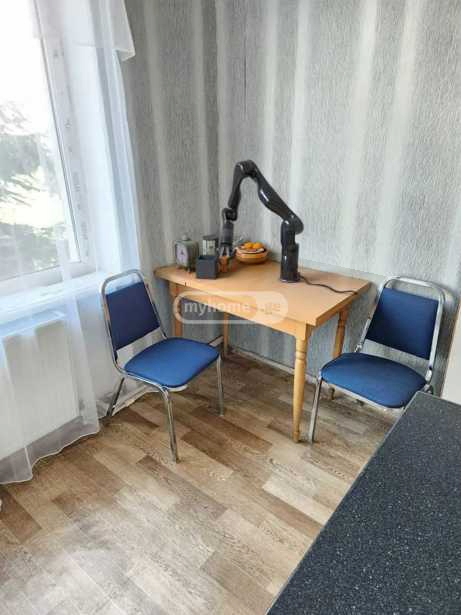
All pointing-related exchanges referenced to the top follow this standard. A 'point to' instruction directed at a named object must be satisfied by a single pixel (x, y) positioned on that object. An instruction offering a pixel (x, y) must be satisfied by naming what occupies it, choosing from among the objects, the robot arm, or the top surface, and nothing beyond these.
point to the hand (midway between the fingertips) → (223, 264)
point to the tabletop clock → (185, 251)
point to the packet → (224, 264)
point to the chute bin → (206, 266)
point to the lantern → (210, 244)
